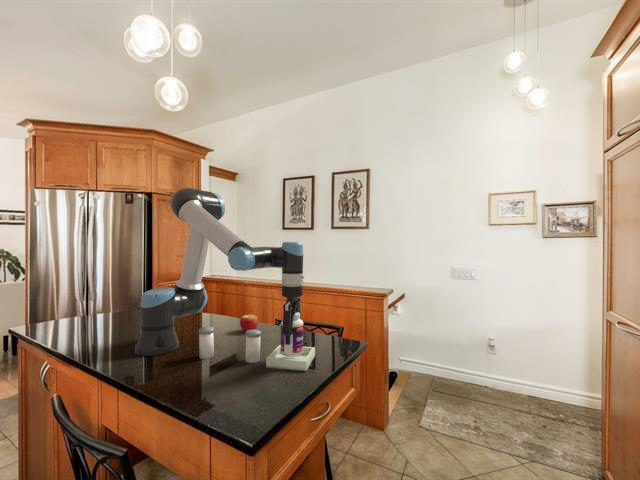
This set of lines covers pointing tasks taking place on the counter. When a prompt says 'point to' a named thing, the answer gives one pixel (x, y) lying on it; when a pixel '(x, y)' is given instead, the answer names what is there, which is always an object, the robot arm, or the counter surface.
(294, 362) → the tray
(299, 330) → the pill bottle
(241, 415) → the counter surface
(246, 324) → the apple
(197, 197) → the robot arm
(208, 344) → the canister
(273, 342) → the counter surface
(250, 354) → the canister
